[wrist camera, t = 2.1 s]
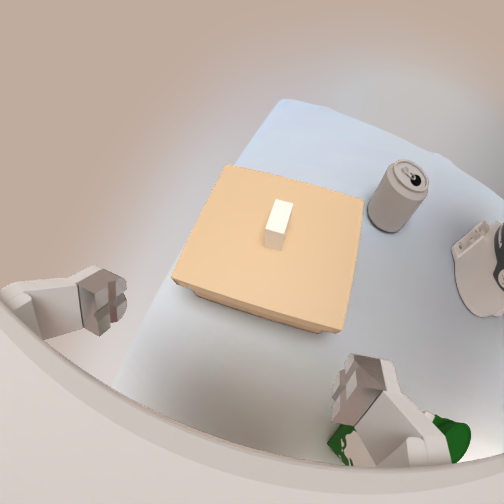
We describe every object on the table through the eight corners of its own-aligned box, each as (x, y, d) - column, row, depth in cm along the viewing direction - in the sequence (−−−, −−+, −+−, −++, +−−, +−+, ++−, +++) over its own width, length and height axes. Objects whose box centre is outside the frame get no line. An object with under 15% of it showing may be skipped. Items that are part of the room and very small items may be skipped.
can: (391, 242, 42) (424, 202, 31) (358, 216, 44) (382, 170, 33) (407, 217, 44) (437, 176, 33) (377, 193, 47) (400, 148, 36)
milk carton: (397, 418, 30) (490, 432, 11) (362, 468, 26) (437, 518, 8) (354, 394, 32) (439, 402, 14) (317, 446, 29) (372, 503, 11)
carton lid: (227, 175, 39) (223, 143, 33) (358, 210, 36) (373, 181, 30) (176, 284, 32) (159, 262, 26) (335, 333, 29) (354, 322, 23)
